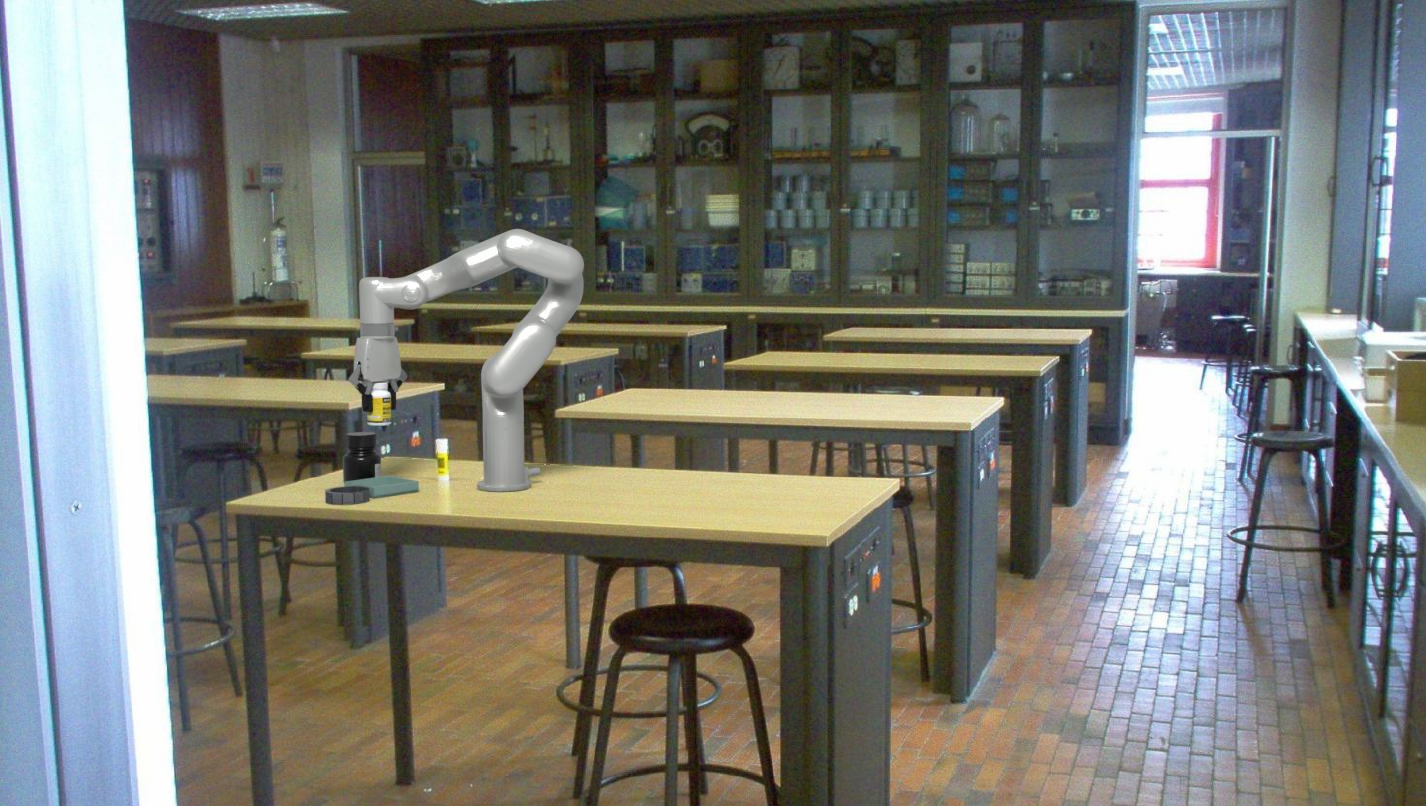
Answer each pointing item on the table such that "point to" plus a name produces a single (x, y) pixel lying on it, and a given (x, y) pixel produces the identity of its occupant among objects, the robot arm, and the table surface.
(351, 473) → the ink bottle
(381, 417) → the supplement bottle
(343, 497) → the collar
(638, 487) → the table surface
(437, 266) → the robot arm
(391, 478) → the tray
